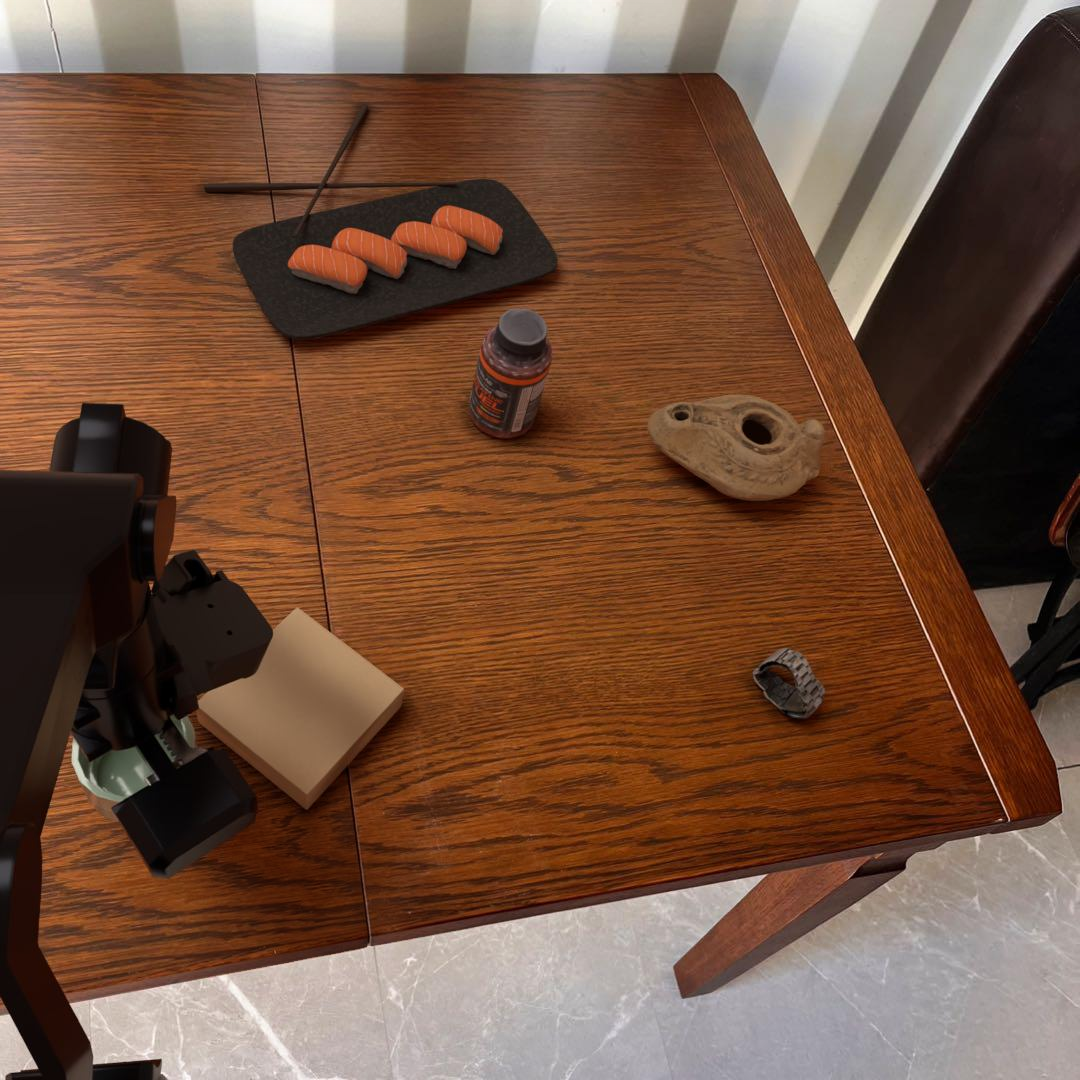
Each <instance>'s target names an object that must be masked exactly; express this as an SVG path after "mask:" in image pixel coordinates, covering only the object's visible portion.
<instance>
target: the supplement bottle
mask: <svg viewBox="0 0 1080 1080" xmlns="http://www.w3.org/2000/svg"><path fill="white" fill-rule="evenodd" d="M547 335H548V326H547V323H546V321H545V319H544V317H542V316H541V315H540V314H539V313H537V312H536V311H533V310H531V309H529V308H525V307H523V308H521V307H516V308H511V309H508V310H506V311H505V312H504V313H502V314H501V315H500V317H499V319H498V323H497V324H496V325H493V326H492V327H491V328H490V329H489V330H488V331H487V332H486V333H485V335H484V336H483V339H482V341H481V343H480V344H481V345H480V348H479V354H478V358H477V362H476V367H475V373H474V377H473V381H472V387H471V392H470V397H469V404H468V412H469V416H470V419H471V421H472V422H473V424H474V425H475V426H476V427H477V429H479V431H481V432H483V433H485V434H486V435H489V436H490V437H493V438H498V439H513V438H517V437H520V436H522V435H524V434H526V432H528V431H529V430H530V429H531V428H532V426H533V424H534V422H535V419H536V416H537V413H538V409H539V406H540V402H541V400H542V396H543V392H544V389H545V385H546V383H547V379H548V375H549V372H550V367H551V365H552V360H553V348H552V345H551V342H550V340H549V339H548V337H547Z"/></svg>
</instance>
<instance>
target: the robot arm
mask: <svg viewBox="0 0 1080 1080" xmlns="http://www.w3.org/2000/svg"><path fill="white" fill-rule="evenodd" d="M172 456H173V447H172V443H171V441H170V440H168V439H167V438H166V437H165V435H163V434H162V433H161V432H159V430H157V429H156V428H154V427H152V426H151V425H149V424H147V423H145V422H143V421H140V420H137V419H134V418H133V417H132V418H131V417H128V416H127V415H126V410H125V405H124V404H123V403H106V402H105V403H104V402H103V403H102V402H99V403H98V402H82V403H81V407H80V413H79V417H77V418H74V419H71V420H69V421H67V422H66V423H65V424H63V425H62V426H61V427H59V429H58V430H57V432H56V434H55V437H54V442H53V447H52V452H51V457H50V465H49V470H23V469H22V470H19V469H17V470H16V469H0V999H1V1001H2V1003H3V1005H4V1007H5V1010H7V1013H8V1015H9V1016H10V1018H11V1020H12V1022H13V1024H14V1025H15V1028H16V1030H17V1031H18V1033H19V1035H20V1037H21V1040H22V1041H23V1043H24V1045H25V1046H26V1048H27V1050H28V1053H29V1054H30V1056H31V1059H32V1060H33V1062H34V1063H35V1066H36V1068H31V1069H21V1070H20V1071H16V1072H15V1071H14V1072H13V1071H12V1072H9V1073H7V1074H5V1076H4V1077H5V1078H4V1080H169V1079H168V1078H167V1077H166V1076H165V1074H163V1073H162V1069H163V1068H162V1067H163V1058H155V1059H154V1058H153V1059H143V1060H142V1059H141V1060H130V1061H116V1062H106V1063H105V1062H104V1063H94V1054H93V1048H92V1043H91V1041H90V1039H89V1036H88V1035H87V1033H86V1031H85V1029H84V1028H83V1026H82V1024H81V1022H80V1020H79V1018H78V1016H77V1014H76V1013H75V1011H74V1009H73V1008H72V1006H71V1003H70V1001H69V1000H68V998H67V996H66V994H65V993H64V990H63V988H62V986H61V984H60V983H59V981H58V979H57V978H56V975H55V974H54V972H53V969H52V968H51V966H50V964H49V963H48V961H47V959H46V957H45V955H44V953H43V952H42V949H41V948H40V945H39V934H40V933H39V931H40V919H41V903H42V901H41V900H42V888H43V887H42V886H43V850H42V838H41V837H42V833H43V829H44V826H45V823H46V820H47V816H48V813H49V809H50V806H51V802H52V798H53V795H54V792H55V788H56V785H57V781H58V777H59V774H60V771H61V768H62V764H63V760H64V757H65V753H66V750H67V746H68V743H69V740H70V736H72V737H73V738H74V739H75V740H76V742H77V744H78V745H79V747H80V748H81V750H82V752H83V753H84V755H85V756H86V758H87V759H88V761H89V763H90V762H92V761H93V760H95V759H97V758H98V757H100V756H102V755H104V754H105V753H107V752H109V751H111V750H114V751H120V750H126V749H130V748H133V747H135V748H136V749H137V751H138V752H139V754H140V756H141V757H142V759H143V760H144V762H145V763H146V765H147V766H148V768H149V769H150V771H151V772H152V775H150V776H149V777H147V778H145V781H146V784H147V786H146V787H144V788H142V789H141V790H139V791H138V792H136V793H134V794H133V795H131V796H129V797H128V798H126V799H124V800H123V801H121V802H119V803H118V804H116V805H114V806H113V807H111V809H112V811H113V812H114V814H115V815H116V817H117V819H118V821H119V822H118V823H119V824H120V826H121V828H122V830H123V831H124V833H125V835H126V837H127V838H128V840H129V841H130V843H131V845H132V847H133V848H134V849H135V851H136V853H137V854H138V856H139V857H140V859H141V861H142V862H143V864H144V865H145V867H146V868H147V870H148V872H149V874H150V876H151V877H152V878H156V879H157V878H158V879H166V880H169V879H171V878H172V877H174V876H176V875H177V874H178V873H180V872H182V871H183V870H184V869H186V868H188V867H189V866H190V865H192V864H193V863H195V862H197V861H198V860H200V859H202V858H203V857H205V856H206V855H208V854H209V853H211V852H212V851H214V850H215V849H217V848H218V847H220V846H221V845H222V844H225V843H226V842H228V841H229V840H230V839H232V838H234V837H235V836H237V835H238V834H240V833H241V832H242V831H244V830H246V829H247V828H249V827H250V826H252V825H254V824H255V823H256V820H257V819H256V818H257V815H258V811H259V803H258V802H259V801H258V796H257V794H256V793H255V792H254V790H253V789H252V787H251V786H250V784H249V783H248V781H247V780H246V779H245V776H243V774H242V773H241V771H240V770H239V768H238V767H237V765H236V764H235V763H234V761H233V760H232V757H230V755H229V754H228V751H226V750H225V748H224V747H221V748H216V749H215V748H214V747H213V746H210V747H209V748H205V747H200V746H198V747H197V748H191V747H190V746H189V745H188V743H187V742H186V740H185V739H184V737H183V736H182V734H181V733H180V731H179V730H178V728H177V727H176V726H175V724H174V723H173V721H172V720H171V718H170V717H169V716H171V715H173V714H174V716H175V717H176V719H177V720H181V719H182V718H184V717H186V716H188V717H189V715H191V714H193V713H194V712H196V710H198V709H199V705H198V700H199V699H198V696H200V695H201V694H204V693H207V692H208V691H211V690H213V689H216V688H218V687H221V686H224V685H226V684H229V683H231V682H234V681H236V680H239V679H241V678H243V679H246V678H248V677H251V676H253V675H254V674H255V673H256V672H257V670H258V668H259V666H260V664H261V662H262V660H263V657H264V655H265V653H266V651H267V649H268V646H269V644H270V642H271V640H272V637H273V627H272V626H271V624H270V623H269V622H268V620H267V619H266V618H265V616H264V615H263V614H262V612H261V611H260V609H259V608H258V607H257V605H256V604H255V602H254V601H253V600H252V599H251V597H250V596H249V595H248V593H247V591H245V589H244V588H243V587H242V586H241V585H240V584H238V583H237V582H235V581H232V580H231V579H229V577H228V576H227V575H226V573H225V572H224V571H223V569H220V570H217V571H215V574H213V573H212V571H211V570H210V568H209V567H208V566H207V564H206V563H205V562H204V560H203V559H202V557H201V556H200V554H199V553H198V552H197V551H196V550H195V549H191V550H188V551H185V552H181V553H177V554H174V555H173V556H172V557H171V558H170V559H169V560H168V558H169V555H170V551H171V548H172V545H173V542H174V536H175V526H176V516H177V515H176V514H177V496H176V495H169V485H170V475H171V466H172ZM150 582H151V583H152V582H153V584H152V587H151V586H150ZM161 733H162V734H161ZM156 734H161V735H160V736H159V738H160V740H163V739H165V740H164V741H163V744H164V746H165V745H168V746H167V750H168V751H171V750H173V751H172V752H171V753H170V754H171V756H172V757H173V756H176V757H175V758H174V762H172V761H171V760H170V758H169V757H168V755H167V754H166V752H165V751H164V749H163V748H162V746H161V745H160V743H159V742H158V740H157V739H156V737H155V735H156ZM180 761H182V765H181V764H180Z"/></svg>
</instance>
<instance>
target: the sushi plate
mask: <svg viewBox="0 0 1080 1080" xmlns="http://www.w3.org/2000/svg"><path fill="white" fill-rule="evenodd" d="M368 109H369V104H367V103H362V105H361V107H360V108H359V110H358V112H357V114H356V115H355V118H354V119H353V121H352V123H351V125H350V127H349V129H348V131H347V132H346V135H345V136H344V138H343V140H342V142H341V144H340V145H339V148H338V150H337V152H336V154H335V155H334V158H333V160H332V162H330V163H331V164H330V165H329V167H328V169H327V171H326V173H325V175H324V177H323V179H322V180H321V182H317V183H316V182H228V183H227V182H222V183H221V182H220V183H217V182H215V183H214V182H213V183H205V184H203V188H204V192H206V193H226V192H227V193H233V192H265V191H266V192H268V191H269V192H271V191H274V192H275V191H300V190H303V191H304V190H316V192H315V193H314V196H313V197H312V199H311V200H310V203H309V204H308V206H307V208H306V210H305V212H304V213H303V215H299V216H295V217H290V218H286V219H285V218H284V219H282V220H276V221H272V222H269V223H265V224H264V223H263V224H261V225H258V226H254V227H251V228H249V229H246V230H243V231H241V232H240V233H238V234H237V235H236V236H235V237H234V238H233V241H232V253H233V257H234V259H235V262H236V264H237V266H238V268H239V271H240V273H241V274H242V277H243V278H244V280H245V282H246V284H247V286H248V288H249V290H250V291H251V293H252V295H253V296H254V298H255V300H256V302H257V304H258V305H259V307H260V309H261V311H262V312H263V313H264V316H265V317H266V318H267V320H268V322H269V323H270V324H271V325H272V326H273V328H274V329H275V330H276V331H277V332H278V333H279V334H281V335H282V336H284V337H286V338H288V339H291V340H301V341H302V340H312V339H313V340H315V339H318V338H325V337H329V336H335V335H337V334H341V333H346V332H350V331H353V330H356V329H361V328H364V327H365V328H366V327H368V326H372V325H375V324H380V323H383V322H387V321H390V320H394V319H399V318H403V317H406V316H409V315H413V314H417V313H421V312H424V311H428V310H432V309H435V308H440V307H443V306H447V305H451V304H455V303H458V302H461V301H466V300H469V299H474V298H476V297H481V296H486V295H488V294H492V293H496V292H500V291H504V290H507V289H510V288H511V289H512V288H514V287H517V286H521V285H525V284H528V283H532V282H535V281H537V280H540V279H543V278H545V277H547V276H549V275H551V274H552V273H553V272H554V271H555V270H556V269H557V268H558V262H559V260H558V257H557V256H558V255H557V254H556V251H555V248H554V247H553V246H552V244H551V242H550V241H549V240H548V238H547V236H546V235H545V233H544V232H543V231H542V229H541V228H540V227H539V225H538V223H537V222H536V221H535V219H534V218H533V217H532V215H531V214H530V213H529V211H528V210H527V208H525V206H524V205H523V203H522V202H521V201H520V200H519V198H518V197H517V196H516V195H515V194H514V193H513V192H512V191H511V190H510V189H509V188H508V187H507V186H506V185H505V184H503V183H502V182H501V181H497V180H496V179H490V178H477V179H468V180H463V181H436V182H435V181H433V182H431V181H429V182H426V181H425V182H424V181H423V182H422V181H421V182H330V183H329V182H328V181H329V179H330V177H331V176H332V174H333V172H334V170H335V168H336V166H337V165H338V163H339V161H340V160H341V158H342V157H343V155H344V153H345V151H346V149H347V148H348V146H349V144H350V142H351V141H352V139H353V137H354V135H355V133H356V132H357V130H358V128H359V126H360V125H361V123H362V121H363V120H364V117H365V116H366V114H367V112H368ZM412 187H414V188H416V187H417V188H418V187H428V188H423V189H419V190H414V191H410V192H406V193H401V194H396V195H392V196H386V197H381V198H378V199H377V198H376V199H373V200H369V201H364V202H359V203H355V204H350V205H345V206H341V207H337V208H331V209H326V210H322V211H317V212H314V213H311V212H312V210H313V208H314V206H315V204H316V203H317V201H318V199H319V197H320V195H321V194H322V191H323V190H327V189H328V190H329V189H331V190H332V189H366V188H367V189H368V188H369V189H370V188H371V189H372V188H412Z"/></svg>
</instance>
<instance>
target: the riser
mask: <svg viewBox="0 0 1080 1080" xmlns="http://www.w3.org/2000/svg"><path fill="white" fill-rule="evenodd" d="M272 630H273V637H272V640H271V642H270V644H269V646H268V649H267V651H266V653H265V655H264V657H263V660H262V662H261V664H260V666H259V668H258V670H257V672H256V673H255V674H254V675H253V676H251V677H248V678H246V679H243V678H241V679H239V680H236V681H234V682H231V683H229V684H226V685H224V686H221V687H218V688H216V689H213V690H211V691H208V692H205V694H203V695H202V696H201V697H200V698H199V699H198V705H199V709H198V710H196V711H195V713H196V718H197V723H199V724H200V725H201V726H202V727H204V729H206V730H207V731H209V732H210V733H211V734H212V735H213V736H215V737H216V738H217V739H219V740H220V742H222V743H223V744H224V745H225V746H226V747H228V748H229V749H230V750H231V751H233V752H234V753H235V754H237V755H238V756H239V757H240V758H242V759H243V760H244V761H245V762H247V763H248V764H249V765H251V766H252V767H253V768H254V769H255V770H257V771H258V772H259V773H260V774H262V776H264V777H265V778H266V779H268V780H269V781H270V782H271V783H273V784H274V785H275V786H276V787H278V788H279V789H280V790H281V791H282V792H284V793H286V795H287V796H289V797H290V798H291V799H292V800H293V801H295V802H296V803H297V804H298V805H300V806H301V807H302V808H303V809H305V810H307V811H308V810H309V809H310V808H311V806H312V805H313V804H314V803H315V802H316V801H317V800H318V799H319V798H320V797H321V795H322V794H323V793H324V792H325V791H326V790H327V789H328V788H329V786H330V785H332V783H333V782H334V781H335V780H336V779H337V778H338V777H339V776H340V775H341V774H342V772H343V771H344V770H345V769H346V768H347V767H348V766H349V764H350V763H351V762H352V761H353V760H354V759H355V758H356V757H357V756H358V755H359V754H360V753H361V751H362V750H363V749H364V748H365V747H366V746H367V745H368V744H369V743H370V741H371V740H372V739H373V738H374V737H375V736H376V735H377V734H378V733H379V732H380V731H381V729H382V728H383V727H384V726H385V725H386V724H387V723H388V722H389V721H390V719H392V718H393V716H394V715H395V714H397V712H398V711H399V710H400V708H401V707H402V703H403V698H404V692H405V688H404V687H403V686H401V685H400V684H399V683H397V681H395V680H393V679H392V678H391V677H389V676H388V675H387V674H386V673H385V672H384V671H382V670H381V669H379V668H378V667H376V665H374V664H373V663H371V662H370V661H369V660H367V659H366V658H365V657H363V655H360V654H359V653H358V652H357V651H355V650H354V649H353V648H351V647H350V646H349V645H348V644H346V643H345V642H344V641H343V640H341V639H340V638H339V637H337V636H336V635H335V634H333V633H332V632H330V631H329V630H328V629H327V628H325V627H324V626H323V625H321V624H320V623H319V622H318V621H317V620H315V619H314V618H312V617H311V616H310V615H308V614H307V613H306V612H305V611H303V610H302V609H300V608H299V607H298V606H296V607H295V608H294V609H293V610H292V611H290V613H289V614H288V615H287V616H285V618H284V619H282V621H280V622H279V623H278V624H277V625H276V626H275V627H274V628H272Z"/></svg>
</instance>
